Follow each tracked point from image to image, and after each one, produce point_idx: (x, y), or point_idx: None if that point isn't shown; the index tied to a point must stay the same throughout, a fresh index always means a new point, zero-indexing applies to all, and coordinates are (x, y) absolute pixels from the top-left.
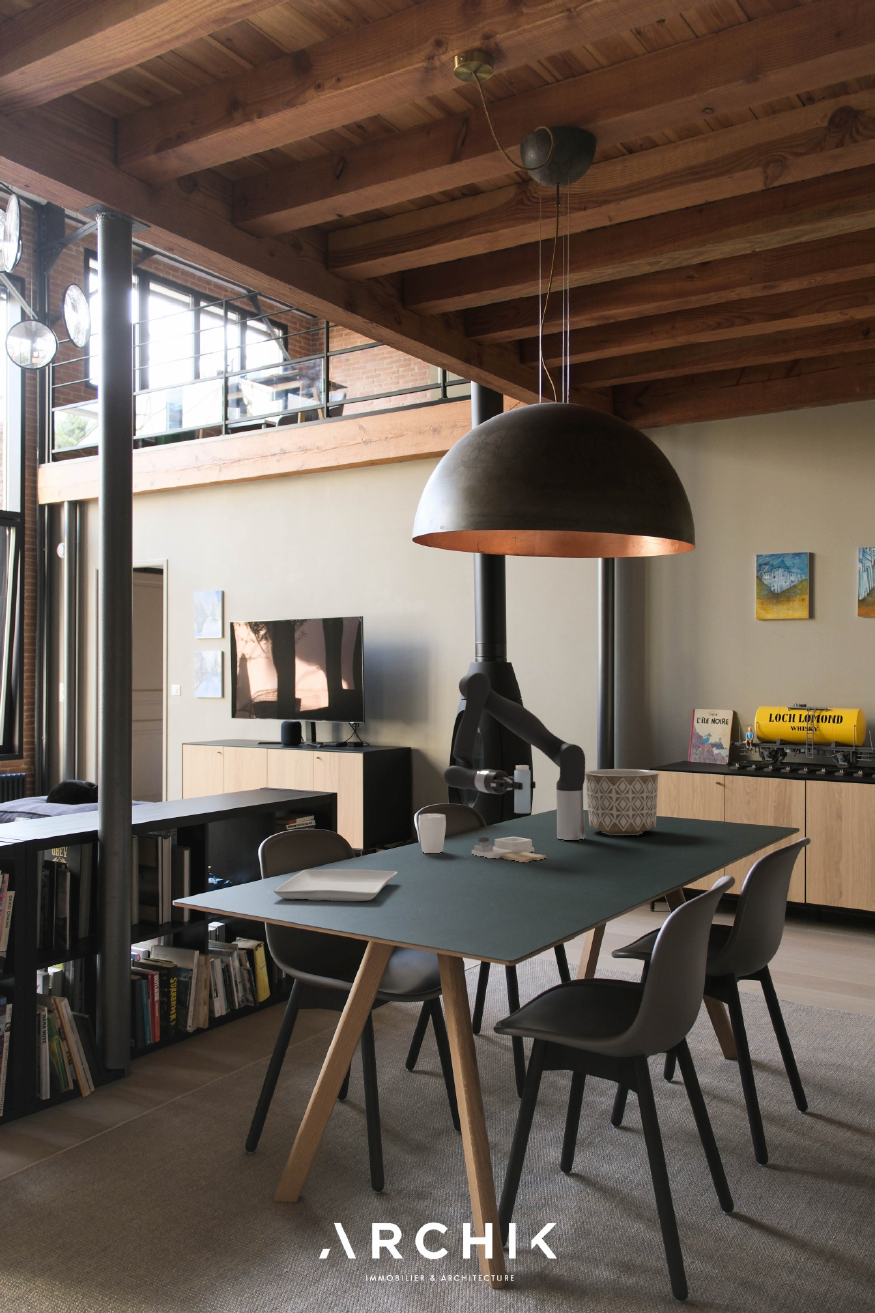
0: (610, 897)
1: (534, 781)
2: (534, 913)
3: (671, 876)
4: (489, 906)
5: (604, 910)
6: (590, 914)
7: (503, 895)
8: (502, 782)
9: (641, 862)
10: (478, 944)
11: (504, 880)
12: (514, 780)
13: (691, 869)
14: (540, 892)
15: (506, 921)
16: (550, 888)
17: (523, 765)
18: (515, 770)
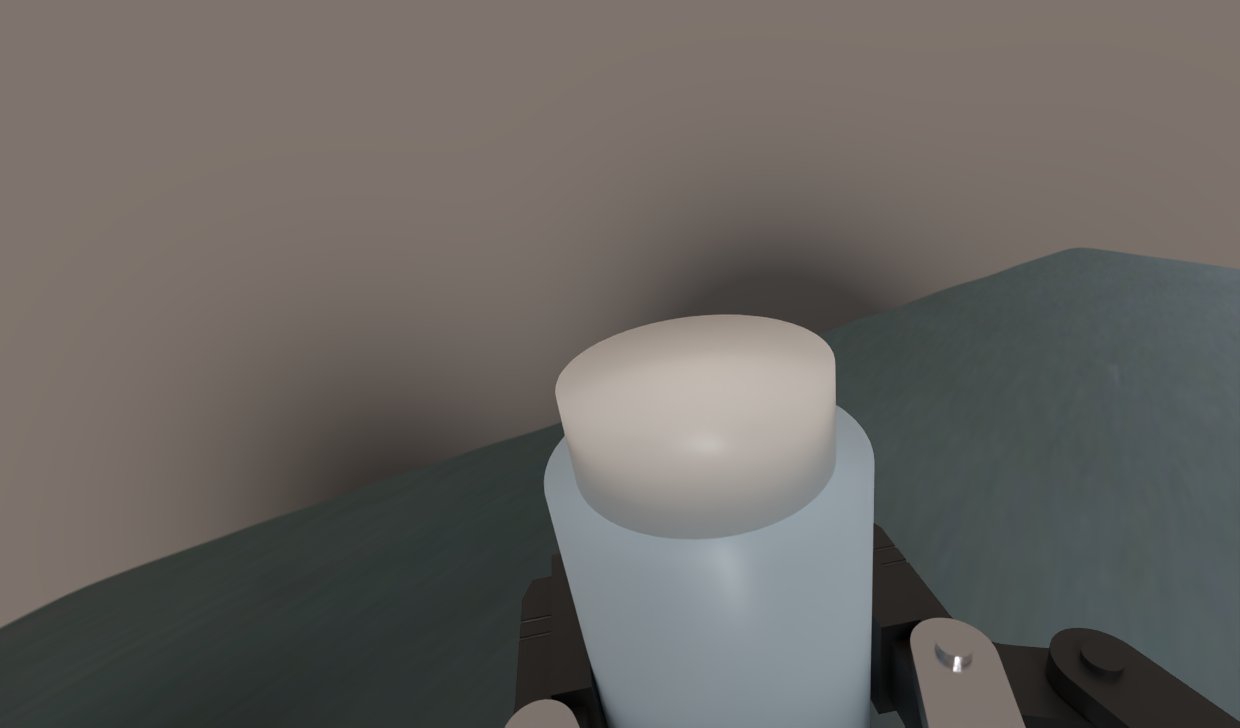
0: None
1: (556, 553)
2: (1005, 327)
3: (522, 446)
4: (1122, 363)
5: (854, 324)
6: (891, 315)
7: (1073, 415)
8: (1181, 698)
9: (378, 601)
10: (1136, 261)
11: (1055, 548)
12: (871, 629)
13: (403, 481)
14: (946, 415)
15: (1077, 308)
16: (901, 435)
17: (627, 391)
18: (833, 491)
